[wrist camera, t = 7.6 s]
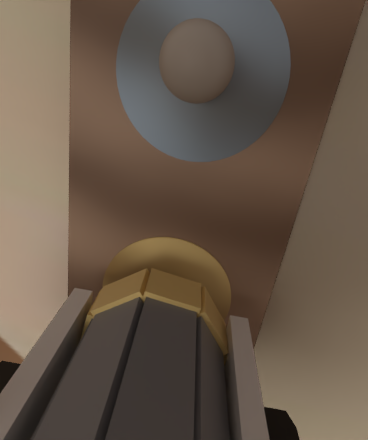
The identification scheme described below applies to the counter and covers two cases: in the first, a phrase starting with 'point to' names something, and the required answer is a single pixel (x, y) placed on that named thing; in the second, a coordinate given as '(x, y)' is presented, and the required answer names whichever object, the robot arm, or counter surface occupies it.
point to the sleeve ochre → (144, 366)
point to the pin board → (197, 137)
